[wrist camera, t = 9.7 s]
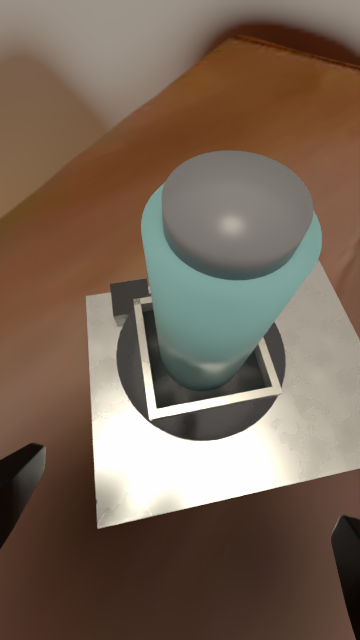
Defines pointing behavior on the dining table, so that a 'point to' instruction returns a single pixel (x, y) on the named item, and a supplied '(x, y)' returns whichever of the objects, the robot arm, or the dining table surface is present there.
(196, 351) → the bottle
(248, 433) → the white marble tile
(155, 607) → the dining table surface
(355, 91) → the dining table surface
